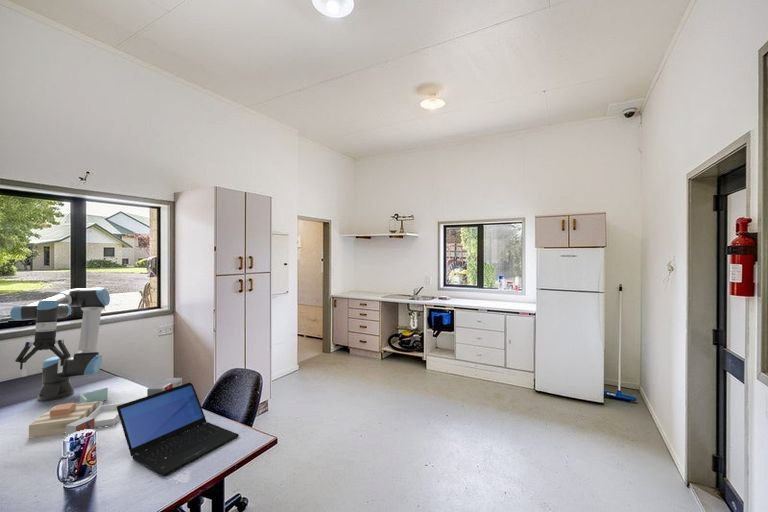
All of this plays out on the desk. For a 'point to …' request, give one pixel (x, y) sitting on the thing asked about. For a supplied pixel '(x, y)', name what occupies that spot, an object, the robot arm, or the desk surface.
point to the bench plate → (60, 420)
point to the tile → (62, 409)
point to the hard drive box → (164, 385)
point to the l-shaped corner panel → (95, 396)
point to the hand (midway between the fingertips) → (42, 374)
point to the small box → (80, 425)
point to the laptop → (169, 429)
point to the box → (106, 415)
